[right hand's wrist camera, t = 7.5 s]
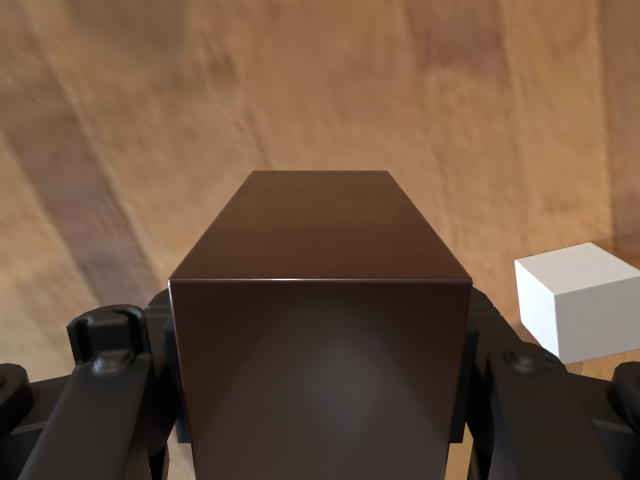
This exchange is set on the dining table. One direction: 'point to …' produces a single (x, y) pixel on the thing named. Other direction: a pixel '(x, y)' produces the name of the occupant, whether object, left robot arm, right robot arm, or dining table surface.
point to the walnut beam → (320, 332)
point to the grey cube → (580, 302)
